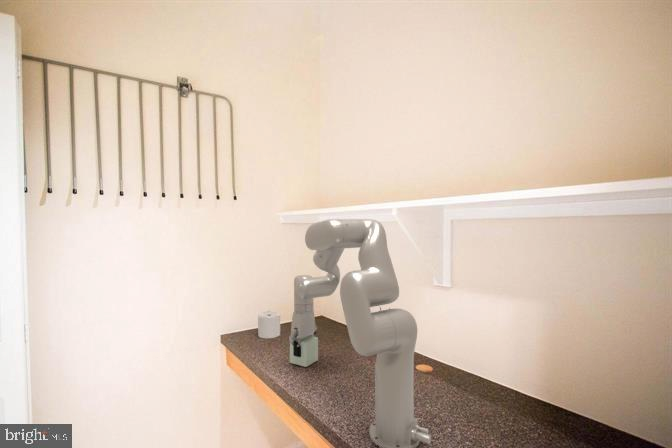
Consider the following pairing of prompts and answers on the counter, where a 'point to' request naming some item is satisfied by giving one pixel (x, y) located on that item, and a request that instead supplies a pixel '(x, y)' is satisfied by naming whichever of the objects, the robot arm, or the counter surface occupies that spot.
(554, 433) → the counter surface
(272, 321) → the toilet tissue
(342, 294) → the robot arm
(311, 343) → the pale sage cube
